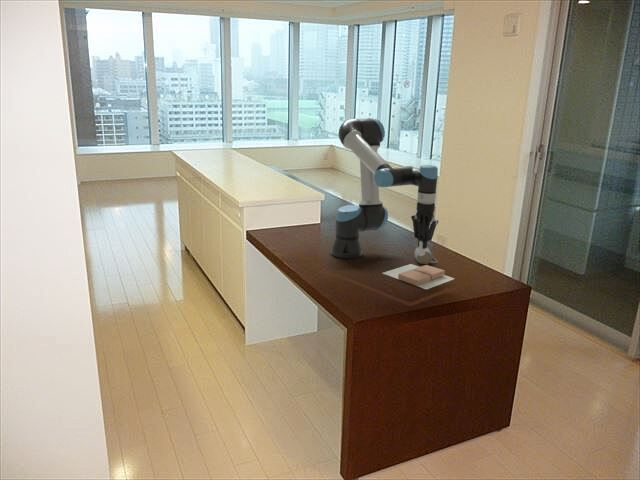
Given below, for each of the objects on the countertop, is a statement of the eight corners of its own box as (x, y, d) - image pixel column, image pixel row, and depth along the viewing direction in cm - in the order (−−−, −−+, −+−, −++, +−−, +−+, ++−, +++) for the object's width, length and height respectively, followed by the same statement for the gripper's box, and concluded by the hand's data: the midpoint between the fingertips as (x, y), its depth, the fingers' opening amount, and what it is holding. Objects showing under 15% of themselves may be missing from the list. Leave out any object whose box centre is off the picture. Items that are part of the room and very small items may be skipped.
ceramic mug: (415, 265, 245) (417, 250, 243) (413, 260, 253) (415, 244, 250) (438, 267, 245) (440, 251, 242) (435, 261, 252) (437, 246, 250)
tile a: (398, 273, 223) (417, 280, 216) (412, 269, 229) (430, 275, 222) (398, 279, 224) (416, 286, 217) (411, 274, 230) (430, 281, 223)
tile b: (413, 269, 230) (432, 274, 223) (426, 264, 236) (444, 270, 229) (413, 274, 231) (431, 280, 223) (425, 269, 236) (444, 275, 229)
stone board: (381, 275, 231) (381, 273, 231) (410, 266, 244) (410, 263, 244) (426, 292, 214) (426, 289, 214) (454, 281, 227) (455, 278, 227)
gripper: (408, 200, 226) (404, 253, 233) (433, 206, 217) (428, 260, 224) (419, 198, 231) (415, 250, 238) (444, 203, 222) (439, 257, 229)
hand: (421, 255), depth 231 cm, fingers closed
